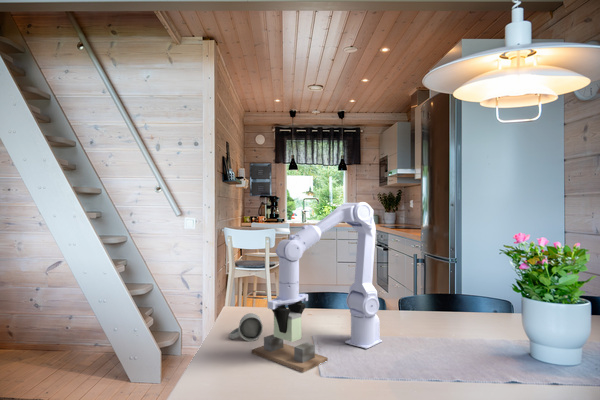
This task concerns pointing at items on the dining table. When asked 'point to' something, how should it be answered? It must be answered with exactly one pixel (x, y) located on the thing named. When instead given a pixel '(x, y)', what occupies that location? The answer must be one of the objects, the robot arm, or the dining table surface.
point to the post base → (290, 354)
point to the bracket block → (289, 328)
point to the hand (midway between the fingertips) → (288, 330)
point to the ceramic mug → (248, 328)
